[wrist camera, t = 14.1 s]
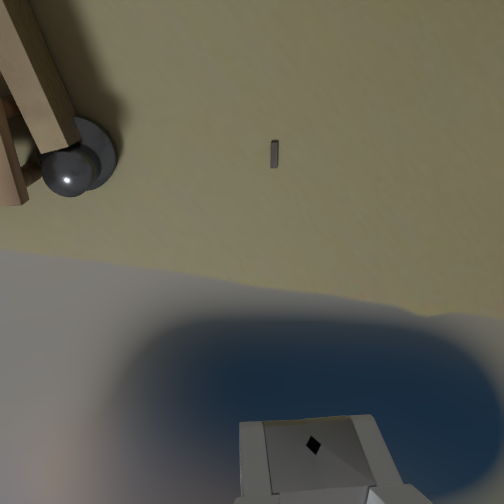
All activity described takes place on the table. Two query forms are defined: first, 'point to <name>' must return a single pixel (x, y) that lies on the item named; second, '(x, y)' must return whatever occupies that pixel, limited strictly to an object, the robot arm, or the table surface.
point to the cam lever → (51, 108)
